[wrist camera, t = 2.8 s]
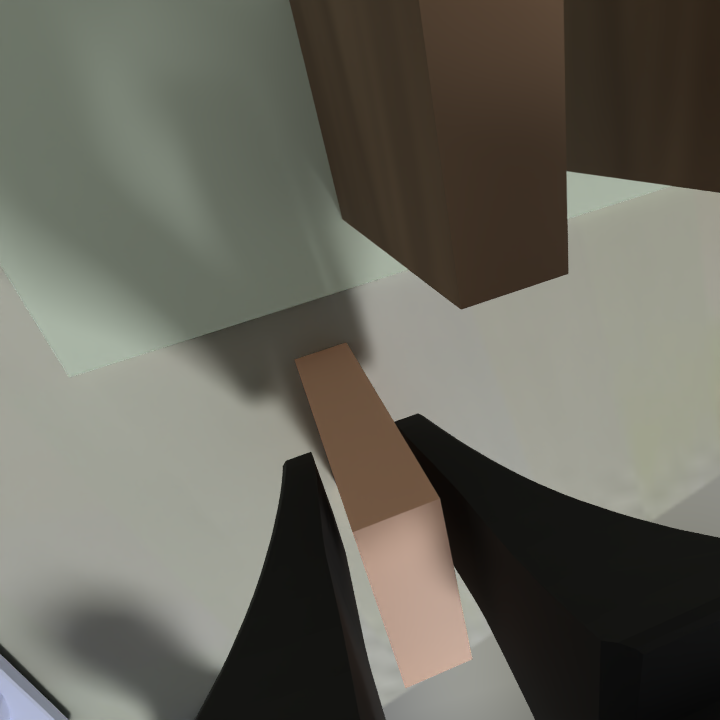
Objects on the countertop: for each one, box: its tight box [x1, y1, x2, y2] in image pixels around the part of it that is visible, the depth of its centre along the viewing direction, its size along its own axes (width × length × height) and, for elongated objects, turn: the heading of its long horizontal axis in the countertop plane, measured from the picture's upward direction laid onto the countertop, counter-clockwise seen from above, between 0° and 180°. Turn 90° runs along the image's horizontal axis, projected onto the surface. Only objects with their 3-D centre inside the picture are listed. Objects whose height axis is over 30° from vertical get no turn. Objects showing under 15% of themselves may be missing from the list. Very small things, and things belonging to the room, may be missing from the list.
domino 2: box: [564, 0, 720, 193], centre depth 8 cm, size 1×4×6 cm, turn 12°
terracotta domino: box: [295, 343, 472, 688], centre depth 11 cm, size 1×4×6 cm, turn 13°
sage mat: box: [0, 0, 671, 378], centre depth 11 cm, size 24×8×1 cm, turn 103°
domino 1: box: [289, 0, 568, 309], centre depth 7 cm, size 1×4×6 cm, turn 13°
